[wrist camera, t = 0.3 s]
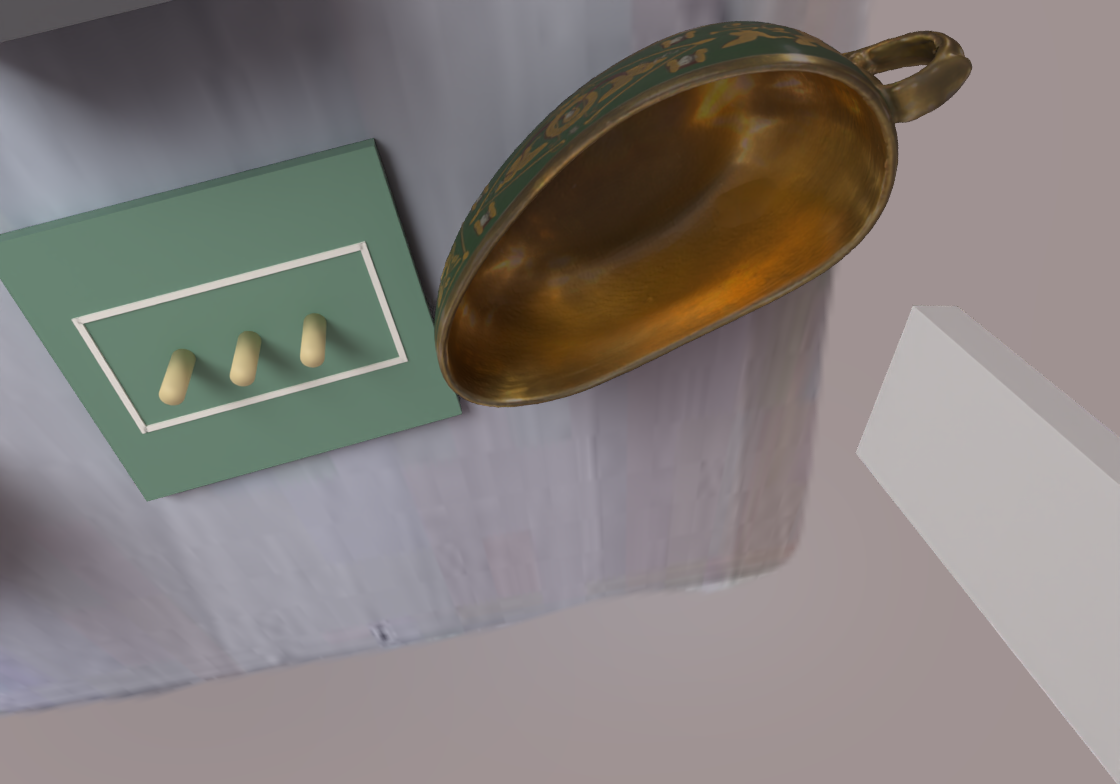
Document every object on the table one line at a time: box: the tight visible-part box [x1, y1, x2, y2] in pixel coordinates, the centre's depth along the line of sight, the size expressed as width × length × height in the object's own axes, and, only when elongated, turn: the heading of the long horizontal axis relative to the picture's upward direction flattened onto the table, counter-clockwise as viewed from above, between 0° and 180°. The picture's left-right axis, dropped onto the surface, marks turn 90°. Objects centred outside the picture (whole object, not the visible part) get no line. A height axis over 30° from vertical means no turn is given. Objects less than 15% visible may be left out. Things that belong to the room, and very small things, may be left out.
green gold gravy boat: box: [434, 21, 972, 408], centre depth 34 cm, size 13×20×10 cm, turn 97°
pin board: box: [0, 138, 462, 501], centre depth 37 cm, size 14×16×4 cm
